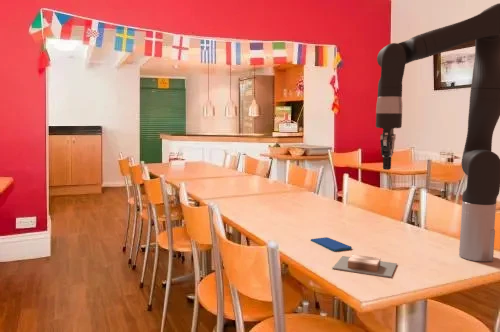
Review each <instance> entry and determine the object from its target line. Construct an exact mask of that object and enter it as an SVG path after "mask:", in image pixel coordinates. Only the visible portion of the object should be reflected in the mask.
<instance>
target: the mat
mask: <svg viewBox="0 0 500 332" xmlns="http://www.w3.org/2000/svg"><path fill="white" fill-rule="evenodd" d="M350 257H351V256H346V255H342V256H341V257H340V258H339V260H338V261H337V262H336V263H335V264H334V265H333V266H332V270H336V271H342V272H349V273H357V274H363V275H369V276H376V277H383V278H392V277H393V274H394V272H395V271H396V268H397V265H398V263H396V262H391V261H382V260H380V267H379V269H378V271H377V272H373V271H366V270H359V269H353V268H348V260H349V258H350Z"/></svg>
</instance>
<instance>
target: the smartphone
mask: <svg viewBox="0 0 500 332" xmlns="http://www.w3.org/2000/svg"><path fill="white" fill-rule="evenodd" d="M310 242H313V243H314V244H317V245H319V246H321V247H322V248H325V249H327V250H329V251H332V252H342V251H350V250H352V246H350V245H348V244H345V243H343V242H340V241H337V240H336V239H332V238H331V237H318V238H317V237H316V238H310Z"/></svg>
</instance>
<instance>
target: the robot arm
mask: <svg viewBox="0 0 500 332" xmlns="http://www.w3.org/2000/svg"><path fill="white" fill-rule="evenodd" d="M472 41H474V44H475V45H474V47H475V48H474V51H475V53H474V61H473V69H472V76H471V77H472V79H471V84H470V85H471V86H470V93H469V94H470V96H469V107H468V108H469V109H468V118H467V119H468V120H467V131H466V133H467V134H466V139H465V145H464V149H463V153H462V158H461V161H460V162H461V170H462V171H463V173H464V174H465V175H466V176H467V179H466V188H465V190H464V191H463V193H462V198H461V200H462V201H461V213H460V214H461V216H460V217H461V218H460V230H459V231H460V234H459V247H458V248H459V249H458V255H459V257H460V258H463V259H465V260H469V261H474V262H491V263H492V262H494V255H495V254H494V253H495V237H496V230H495V228H496V227H495V226H496V225H495V224H496V212H497V211H496V210H497V209H496V208H497V198H498V197H499V195H500V156H499V155H498V154H496V153H495V152H493V149H492V147H493V146H492V145H493V135H494V131H495V129H496V126H497V124H498V121H499V119H500V3H496V4H494V5H491V6H490V7H488V8H485V9H484V10H482V11H481V12H480V13H478V14H477V15H474V16H472V17H470V18H467V19H464V20H462V21H459V22H456V23H451V24H448V25H446V26H443V27H439V28H435V29H433V30H429V31H426V32H423V33H420V34H417V35H415V36H413V37H411V38H409V39H408V40H405V41H400V42H393V43H389V44H387V45H386V46H383V48H381V49H380V51H379V52H378V54H377V55H376V56H377V57H376V61H377V65H378V66H379V67H380V78H379V80H378V83H377V100H376V104H375V106H376V108H375V128H377V129H382V134H380V141H379V142H380V151H381V153H380V154H381V156H382V169H383V170H385V171H387V170H388V171H390V170H391V169H392V157H393V154H394V149H395V142H396V138H397V137H396V134H395V133H394V132H395V131H394V130H395V129H401V128H402V127H403V126H402V122H403V98H402V97H403V79H404V75H405V74H404V73H405V68H406V64H410V63H413V62H415V61H418V60H423V59H426V58H430V57H432V56H435V55H437V54H440V53H443V52H445V51H448V50H451V49H453V48H456V47H458V46H462V45H463V44H466V43H468V42H472Z"/></svg>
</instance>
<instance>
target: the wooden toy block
mask: <svg viewBox="0 0 500 332" xmlns="http://www.w3.org/2000/svg"><path fill="white" fill-rule="evenodd" d="M349 257H350V258H349V260H348V268H353V269H359V270H366V271H373V272H377V271H378V269H379V267H380V261H382V260H381V258H380V257H373V256H369V255H368V256H367V255H359V254H352V255H351V256H349Z"/></svg>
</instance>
